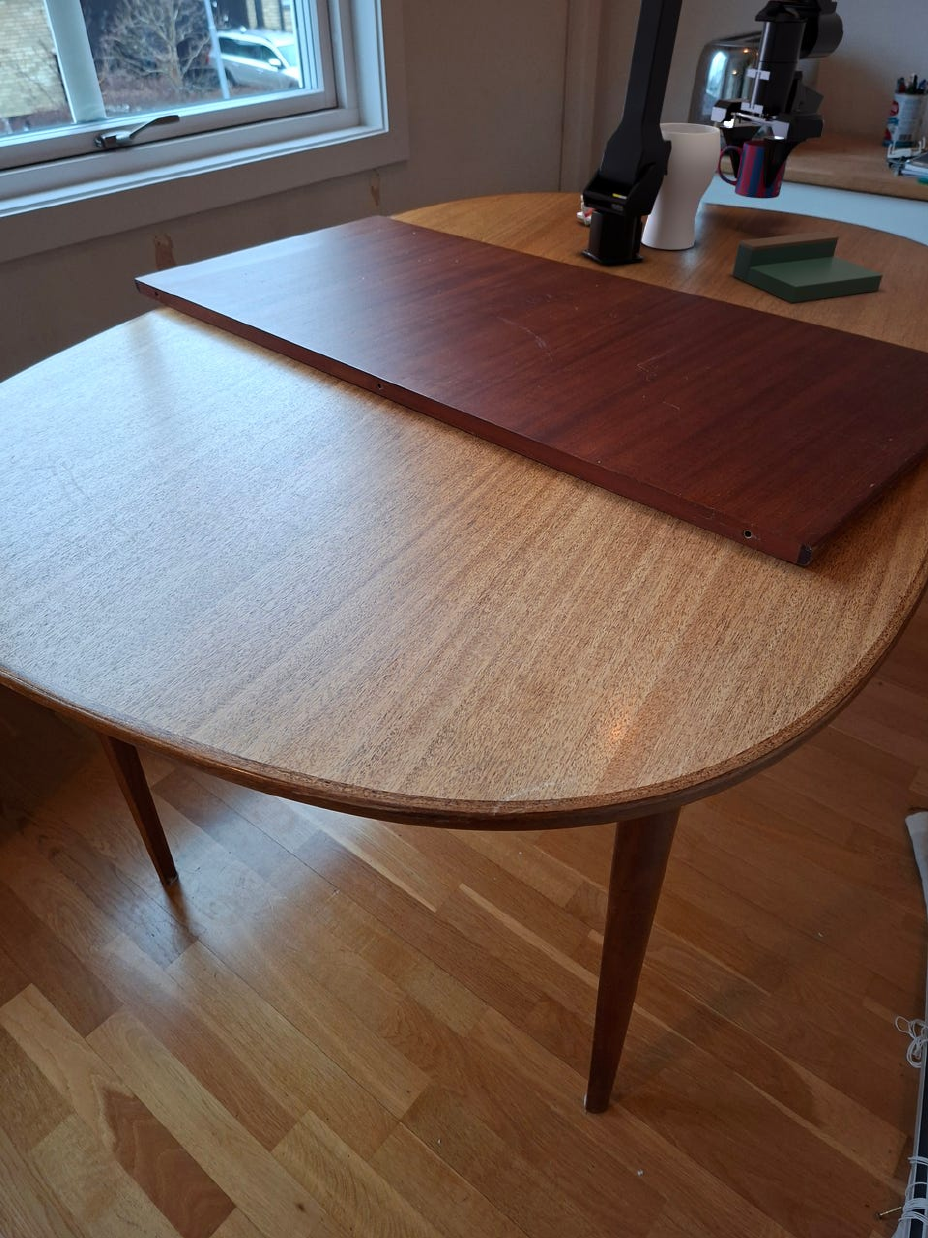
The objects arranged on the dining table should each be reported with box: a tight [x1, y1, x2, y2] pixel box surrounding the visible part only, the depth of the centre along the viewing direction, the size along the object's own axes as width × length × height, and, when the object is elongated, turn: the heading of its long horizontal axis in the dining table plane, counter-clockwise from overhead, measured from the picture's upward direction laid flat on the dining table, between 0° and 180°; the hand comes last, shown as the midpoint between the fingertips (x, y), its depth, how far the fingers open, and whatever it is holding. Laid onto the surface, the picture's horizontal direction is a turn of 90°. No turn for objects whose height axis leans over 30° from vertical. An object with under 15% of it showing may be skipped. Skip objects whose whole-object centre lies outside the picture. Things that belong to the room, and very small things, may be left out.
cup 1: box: [641, 122, 722, 251], centre depth 122 cm, size 11×11×15 cm
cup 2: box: [716, 139, 789, 200], centre depth 129 cm, size 7×10×7 cm
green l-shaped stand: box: [732, 230, 883, 304], centre depth 110 cm, size 14×12×4 cm
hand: (752, 182), depth 129 cm, fingers closed on cup 2, 7 cm apart
